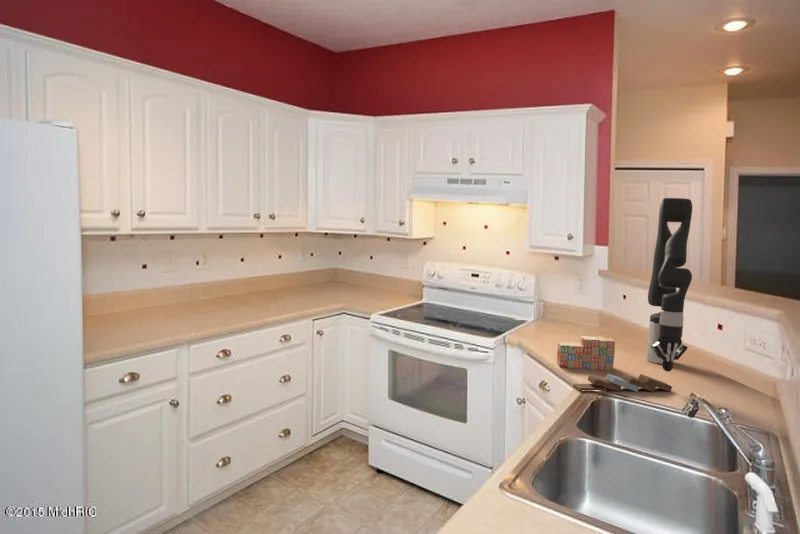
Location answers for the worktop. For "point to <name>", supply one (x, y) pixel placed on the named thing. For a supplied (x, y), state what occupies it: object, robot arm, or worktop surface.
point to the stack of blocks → (587, 353)
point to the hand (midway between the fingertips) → (667, 370)
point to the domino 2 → (621, 382)
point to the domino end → (588, 387)
